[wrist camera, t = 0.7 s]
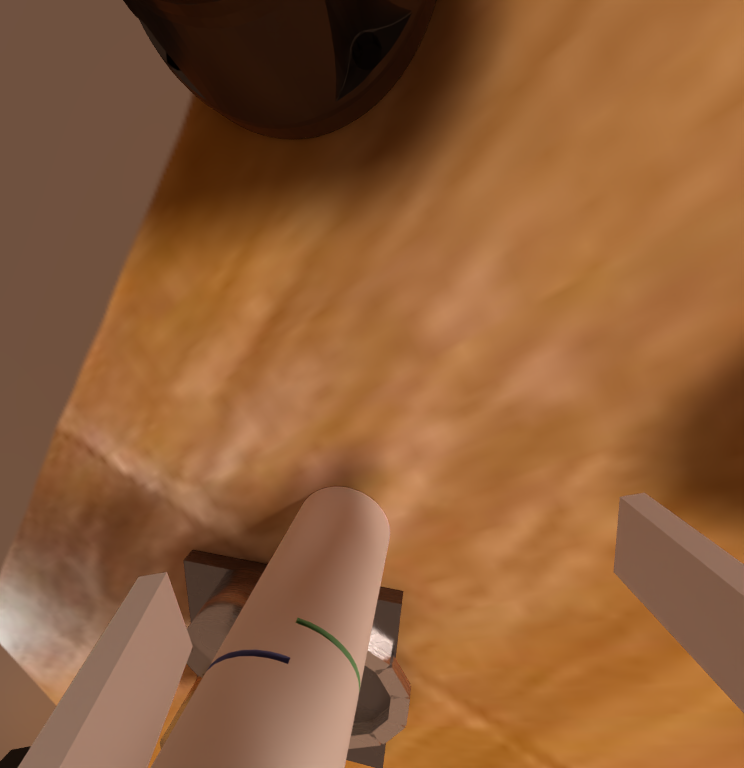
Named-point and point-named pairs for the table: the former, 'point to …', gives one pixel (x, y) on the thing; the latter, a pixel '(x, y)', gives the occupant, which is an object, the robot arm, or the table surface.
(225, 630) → the carrier
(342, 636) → the cylindrical container
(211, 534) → the table surface
